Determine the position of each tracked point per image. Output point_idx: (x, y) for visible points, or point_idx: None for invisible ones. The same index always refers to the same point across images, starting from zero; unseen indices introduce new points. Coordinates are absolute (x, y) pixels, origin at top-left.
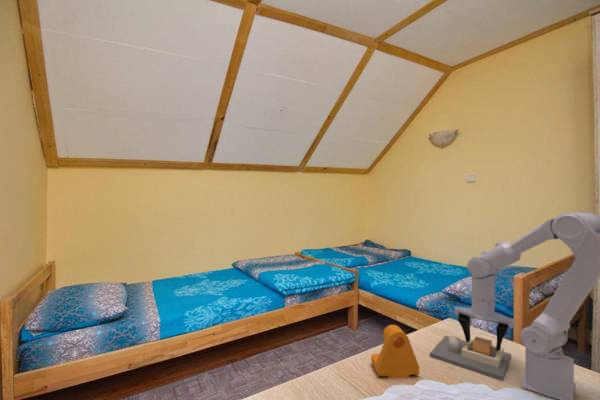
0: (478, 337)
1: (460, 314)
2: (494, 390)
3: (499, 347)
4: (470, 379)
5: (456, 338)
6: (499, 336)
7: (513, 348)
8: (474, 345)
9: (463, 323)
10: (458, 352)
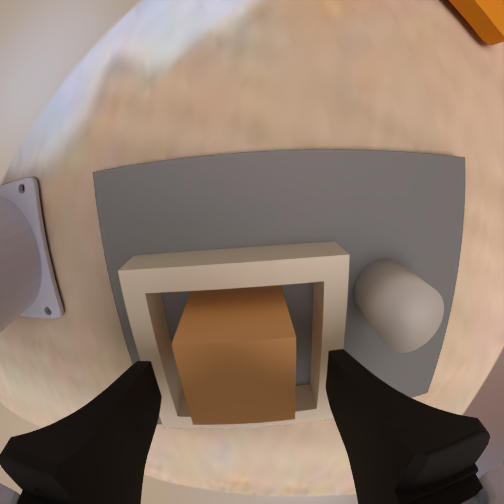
0: (277, 418)
1: (470, 494)
2: (114, 55)
3: (124, 372)
4: (227, 57)
5: (404, 333)
6: (84, 421)
7: (182, 466)
8: (279, 321)
9: (426, 427)
10: (359, 275)
